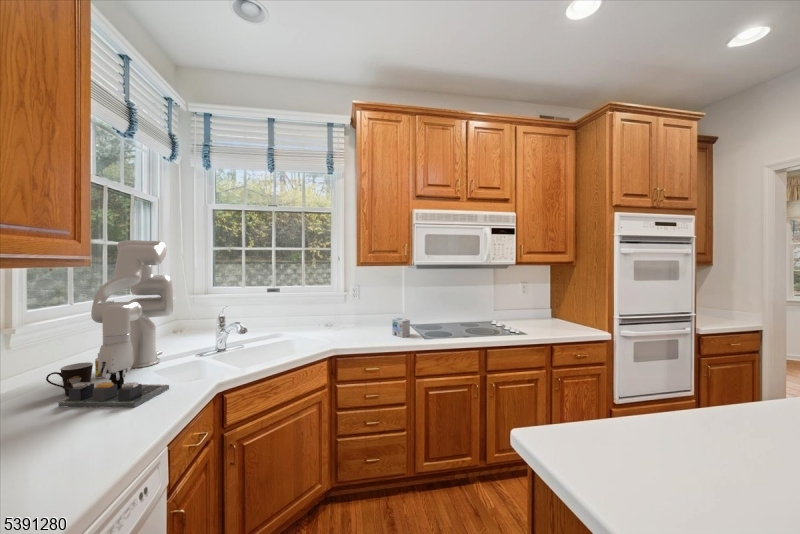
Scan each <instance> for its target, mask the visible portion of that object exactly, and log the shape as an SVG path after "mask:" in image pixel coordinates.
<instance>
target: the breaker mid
mask: <svg viewBox="0 0 800 534" xmlns="http://www.w3.org/2000/svg"><path fill="white" fill-rule="evenodd" d="M96 387H97V388H95V387H94V389H93V401H106V400H108V399H110V398H112V397H114V396H116V395H117V384H113V382H111V381H110V382H109V381H108V382H107V381H106V382H105V381H104V382H100V383H97V384H96Z"/></svg>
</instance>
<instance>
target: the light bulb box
mask: <svg viewBox="0 0 800 534" xmlns="http://www.w3.org/2000/svg"><path fill="white" fill-rule="evenodd" d="M391 329H392V333H391V334H392V336H396V337H400V338H407V337H410V336H411V319H408V318H407V319H406V318H402V317H397V318H392V328H391Z"/></svg>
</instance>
